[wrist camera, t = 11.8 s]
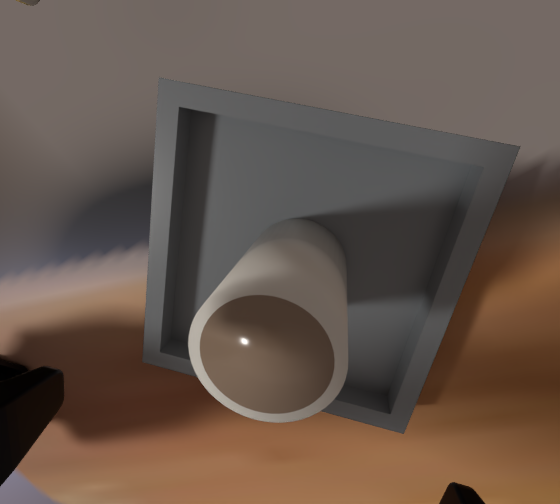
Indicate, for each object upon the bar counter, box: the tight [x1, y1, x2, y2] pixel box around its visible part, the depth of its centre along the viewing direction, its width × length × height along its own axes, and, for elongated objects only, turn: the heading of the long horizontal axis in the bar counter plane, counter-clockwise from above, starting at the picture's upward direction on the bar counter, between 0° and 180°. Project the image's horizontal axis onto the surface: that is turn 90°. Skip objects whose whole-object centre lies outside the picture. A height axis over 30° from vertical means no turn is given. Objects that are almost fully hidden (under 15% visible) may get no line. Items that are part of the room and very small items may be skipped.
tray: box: [142, 78, 520, 434], centre depth 18 cm, size 15×15×2 cm
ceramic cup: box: [188, 219, 348, 423], centre depth 14 cm, size 5×5×8 cm
